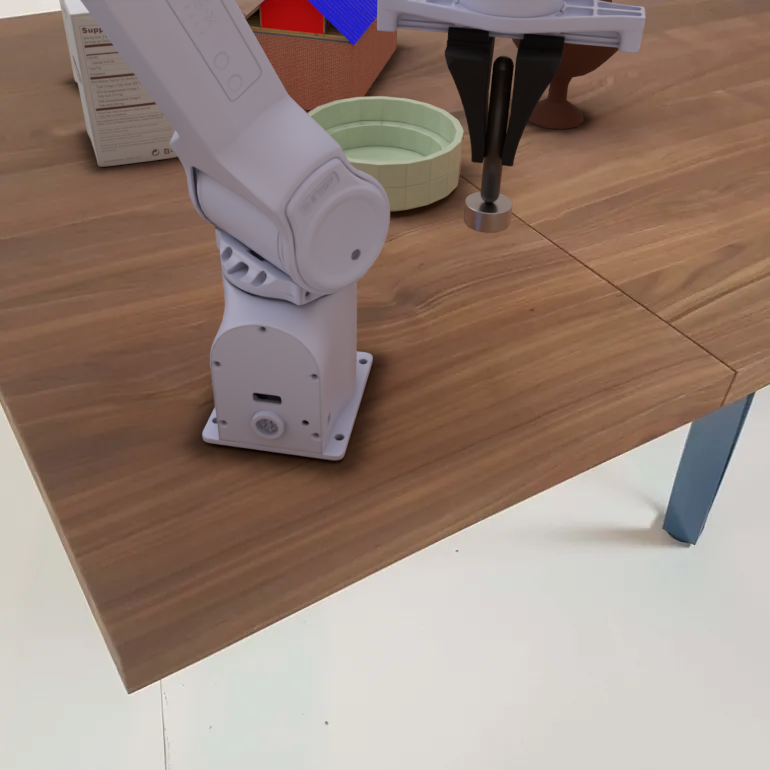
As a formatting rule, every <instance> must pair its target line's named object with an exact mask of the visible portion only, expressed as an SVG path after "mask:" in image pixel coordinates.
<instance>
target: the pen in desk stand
mask: <svg viewBox="0 0 770 770" xmlns="http://www.w3.org/2000/svg"><path fill="white" fill-rule="evenodd" d="M514 71H515V64H514V61H513V59H512V58H511V57H510V56H509V55H504V54H503V55H499V56H498V57H496V58H495V59H494V61H493V62H492V69H491V79H490V89H489V102H488V121H487V131H486V143H485V153H484V160H483V163H482V173H481V183H480V191H476V192H473V193H471V194H469V195H467V197H466V198H465V200H464V213H463V222H464V225H465V226H466V227H467V228H469V229H470V230H473V231H475V232H479V233H484V234H495V233H501V232H503V231H506V230H507V229H509V227H510V226H511V222H512V214H513V206H514V203H513V201H512V199H511V198H510V197H509V196H507V195H505V194H504V193H501V185H502V177H503V176H502V175H503V168H504V166H503V165H501V164H502V154H503V148H504V143H505V138H506V133H507V128H508V123H509V116H510V107H511V98H512V89H513V80H514Z"/></svg>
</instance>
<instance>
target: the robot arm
mask: <svg viewBox="0 0 770 770" xmlns="http://www.w3.org/2000/svg"><path fill="white" fill-rule="evenodd" d="M81 2H82V3H83V5H84V6H85V7H86V9H87V10H88V11H89V13H90V14H91V15H92V17H93V18H94V20H95V21H96V22H97V24H98V25H99V26H100V28H101V29H102V31H103V32H104V33H105V35H106V36H107V37H108V39H109V40H110V42H111V43H112V44H113V46H114V47H115V48H116V50H117V51H118V52H119V54H120V55H121V57H122V58H123V59H124V61H125V62H126V63H127V65H128V66H129V68H130V69H131V70H132V72H133V73H134V74H135V76H136V77H137V78H138V80H139V81H140V83H141V84H142V85H143V87H144V88H145V89H146V91H147V92H148V94H149V95H150V96H151V98H152V99H153V100H154V102H155V103H156V105H157V106H158V107H159V109H160V110H161V111H162V113H163V114H164V115H165V117H166V118H167V120H168V121H169V122H170V124H171V125H172V126H173V128H174V129H175V132H174V134H173V136H172V139H171V141H170V147H171V148H172V150H173V151H174V152H175V154H176V155H177V156H178V157H177V158H178V159H179V161H180V163H181V164H182V167H183V171H185V175H186V182H187V190H188V196H189V199H190V202H191V204H192V206H193V208H194V210H195V211H196V212H197V214H198V215H199V216H200V217H201V218H202V219H203V220H204V221H205V222H207V223H208V224H210V225H212V226H213V227H214V233H215V243H216V248H217V249H218V250H219V258H220V266H221V278H222V287H223V288H222V289H223V299H224V310H223V316H222V320H221V323H220V325H219V328H218V331H217V333H216V334H215V337H214V339H213V341H212V344H211V346H210V347H211V348H210V353H209V367H210V377H211V385H212V392H213V393H212V394H213V401H214V407H213V410H212V412H211V414H210V416H209V417H208V420H207V422H206V424H205V426H204V428H203V430H202V431H201V432H202V433H201V436H202V440H203V441H204V442H205V443H208V444H212V445H213V444H214V445H219V446H227V447H234V448H241V449H242V448H243V449H249V450H255V451H264V452H271V453H278V454H284V455H285V454H286V455H292V456H299V457H306V458H313V459H320V460H328V461H340V460H342V459H343V458H344V457H345V455H346V451H347V448H348V445H349V442H350V439H351V434H352V432H353V428H354V425H355V422H356V420H357V419H356V418H357V415H358V411H359V409H360V406H361V402H362V399H363V396H364V392H365V388H366V386H367V382H368V379H369V375H370V372H371V369H372V366H373V363H374V359H373V358H374V357H373V355H372V354H371V353H370V352H366V351H358V350H357V349H358V346H357V345H358V344H357V343H358V281H360V280H362V279H363V278H364V277H366V273H367V272H368V271H369V270H370V269H371V267H372V266H373V265H374V264H375V262H376V260H377V259H378V257H379V256H380V254H381V252H382V250H383V248H384V245H385V242H386V240H387V236H388V233H389V228H390V221H391V212H390V205H389V200H388V197H387V194H386V192H385V190H384V188H383V186H382V185H381V184H380V183H379V182H378V180H376V179H375V178H374V177H372V176H371V175H369V174H367V173H364V172H362V171H360V170H358V169H356V168H355V167H353V166H352V164H351V163H350V162H349V161H348V159H347V158H346V156H345V154H344V152H343V150H342V148H341V146H340V145H339V144H338V143H337V142H336V141H335V140H334V139H333V138H332V137H331V136H330V135H329V134H328V133H327V132H326V131H325V130H324V129H323V128H322V127H321V126H320V125H319V124H318V123H317V122H316V121H315V120H314V119H313V118H312V117H311V116H309V115H308V114H307V113H308V112H307V111H306V110H304V109H302V108H301V107H300V106H299V105H298V104H297V103H296V102H295V101H294V100H293V99H292V98H291V97H290V96H289V95H288V93H287V91H286V90H285V88H284V86H283V84H282V83H281V81H280V79H279V77H278V76H277V74H276V72H275V70H274V68H273V67H272V65H271V63H270V61H269V60H268V58H267V56H266V54H265V53H264V51H263V49H262V47H261V46H260V44H259V42H258V40H257V38H256V37H255V35H254V33H253V31H252V30H251V28H250V26H249V24H248V23H247V21H246V19H245V15H244V14H243V12H242V10H241V8H240V7H239V5H238V3H237V1H236V0H81ZM646 19H647V17H646V8H645V7H644V6H639V5H629V4H623V3H617V2H616V3H615V2H612V3H610V2H605V1H599V0H378V4H377V30H378V31H386V32H395V31H396V30H397V31H398V30H399V29H400V30H410V31H411V30H413V31H423V32H433V33H445V34H447V40H446V47H445V49H444V59H445V62H446V66H447V69H448V72H449V73H450V75H451V77H452V80H453V82H454V85H455V88H456V89H457V93H458V95H459V98H460V101H461V105H462V108H463V112H464V115H465V119H466V124H467V129H468V135H469V142H470V152H471V153H470V156H471V157H470V158H471V159H470V160H471V163H474V164H483V161H484V153H485V143H486V131H487V121H488V110H489V100H490V88H491V79H492V70H493V60H494V59H493V58H494V51H495V43H496V38H503V39H512V38H513V39H520V43H519V47H518V48H517V51H516V56H515V64H514V73H513V83H512V93H511V102H510V111H509V118H508V123H507V132H506V138H505V143H504V148H503V154H502V164H501V165H503V167H513V166H514V164H515V159H516V158H515V157H516V153H517V150H518V147H519V144H520V141H521V139H522V136H523V134H524V131H525V129H526V126H527V124H528V122H529V118H530V116H531V114H532V112H533V110H534V108H535V107H536V105H537V103H538V102H539V101H541V100H540V99H541V98H542V96H543V95H544V93H545V92H546V90H547V88H549V86H550V83H551V81H552V80H553V78H554V77H555V75H556V73H557V71H558V69H559V67H560V65H561V63H562V56H563V48H564V43H571V44H583V45H594V46H606V47H617V48H618V49H619V50H618V51H619V52H620V53H628V54H639V53H640V48H641V43H642V39H643V34H644V29H645V23H646Z"/></svg>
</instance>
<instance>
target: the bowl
mask: <svg viewBox="0 0 770 770" xmlns="http://www.w3.org/2000/svg"><path fill="white" fill-rule="evenodd" d="M306 113H307V114H308V115H309V116H311V117H312V118H313V119H314V120H315V121H316V122H317V123H318V124H319V125H320V126H321V127H322V128H323V129H324V130H325V131H326V132H327V133H328V134H329V135H330V136H331V137H332V138H333V139H334V140H335V141H336V142H337V143H338V144H339V145H340V146H341V148H342V150H343V152H344V154H345V156H346V158H347V159H348V161H349V162H350V163H351V164H352V166H353V167H355V168H356V169H358V170H360V171H362V172H364V173H367V174H369V175H371V176H372V177H374V178H375V179H376V180H378V182H379V183H380V184H381V185H382V186H383V188H384V190H385V192H386V194H387V197H388V200H389V205H390V213H391V212H403V211H409V210H414V209H417V208H421V207H425V206H428V205H431V204H433V203H435V202H438V201H440V200H442V199H445V198H446V197H448V196H449V195H450V194H451V193H452V192H453V191H454V190H455V189H456V188H457V187H458V185H459V182H460V176H461V170H462V158H463V148H464V147H463V146H464V134H465V130H464V128H463V126H462V124H461V122H460V120H459V119H458V118H456V117H455V116H454V115H453V114H451V113H450V112H448V111H447V110H446V109H443V108H441V107H438V106H436V105H434V104H431V103H428V102H425V101H424V102H423V101H419V100H416V99H411V98H406V97H397V96H396V97H395V96H386V95H385V96H384V95H377V96H376V95H375V96H364V97H355V98H348V99H342V100H336V101H333V102H330V103H327V104H324V105H321V106H318V107H316V108H315V109H313V110H309V111H308V112H306Z"/></svg>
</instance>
